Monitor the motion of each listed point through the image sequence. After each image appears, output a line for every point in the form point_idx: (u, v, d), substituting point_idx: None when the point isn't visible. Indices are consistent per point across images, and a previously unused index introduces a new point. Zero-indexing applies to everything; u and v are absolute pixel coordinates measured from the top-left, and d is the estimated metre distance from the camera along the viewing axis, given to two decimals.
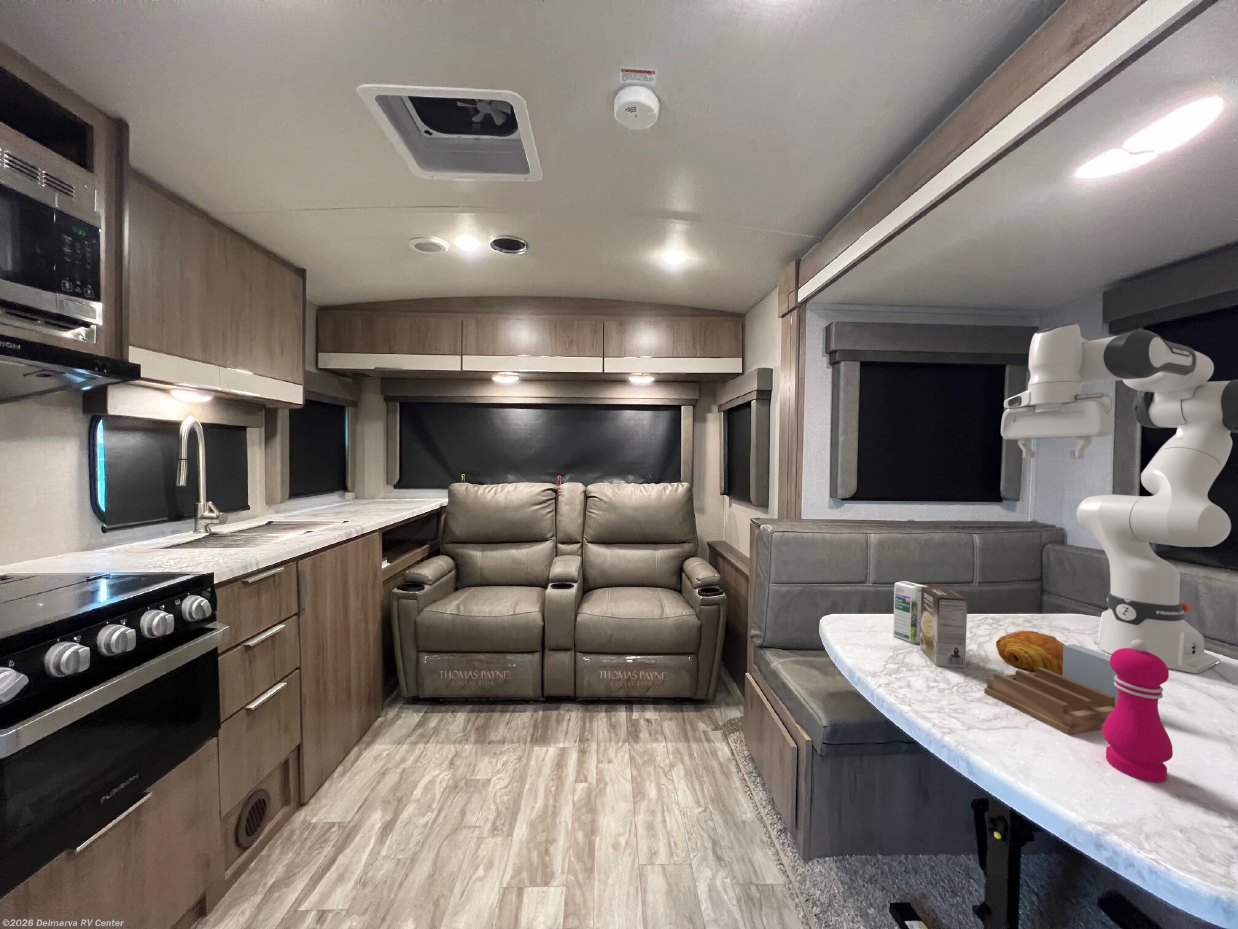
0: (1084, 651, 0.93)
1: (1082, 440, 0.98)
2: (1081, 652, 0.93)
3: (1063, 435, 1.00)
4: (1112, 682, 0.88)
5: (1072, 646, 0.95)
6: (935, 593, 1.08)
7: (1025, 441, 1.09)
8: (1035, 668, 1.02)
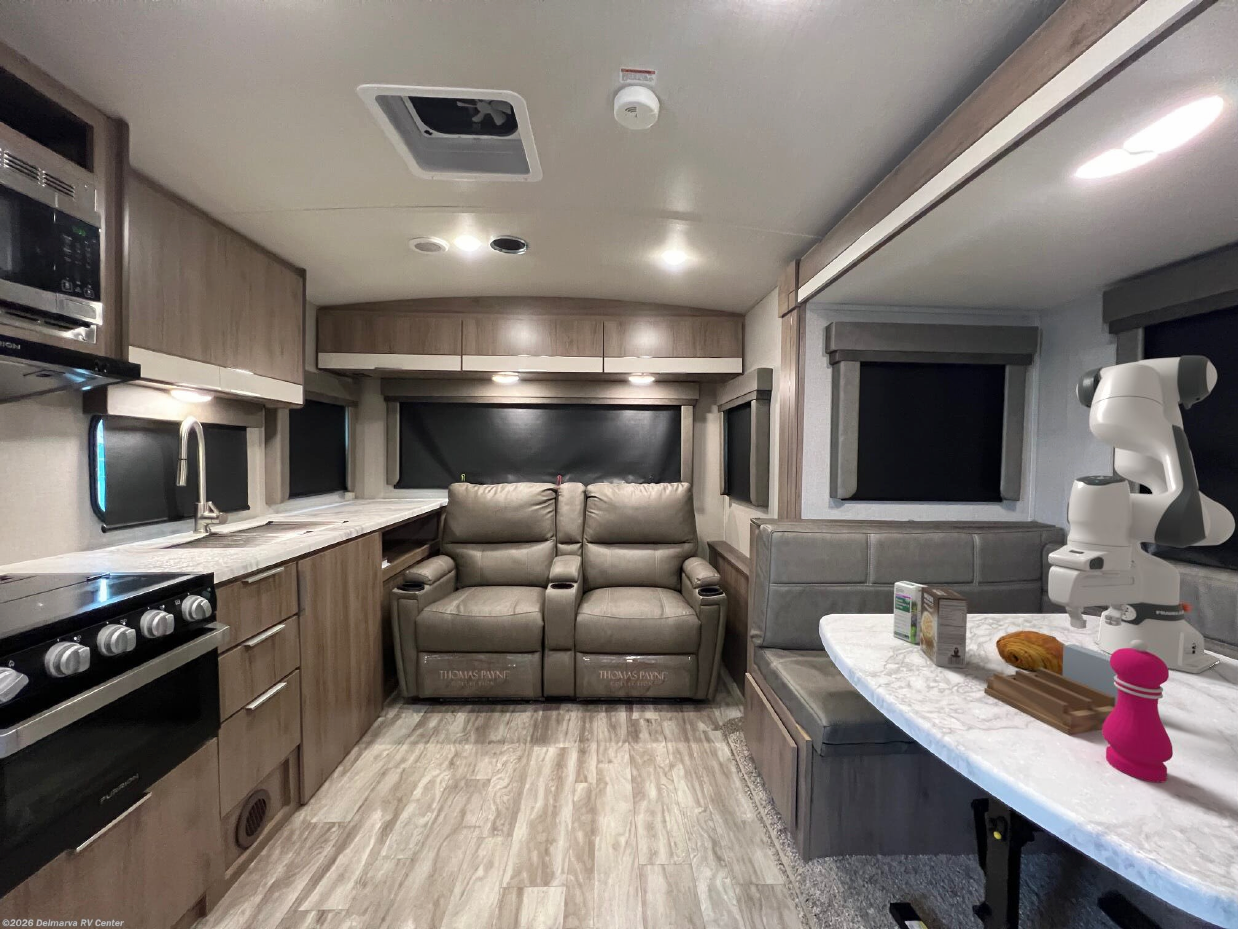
0: (1084, 651, 0.93)
1: (1125, 607, 0.92)
2: (1081, 652, 0.93)
3: (1119, 603, 0.90)
4: (1112, 682, 0.88)
5: (1072, 646, 0.95)
6: (935, 593, 1.08)
7: None
8: (1035, 668, 1.03)
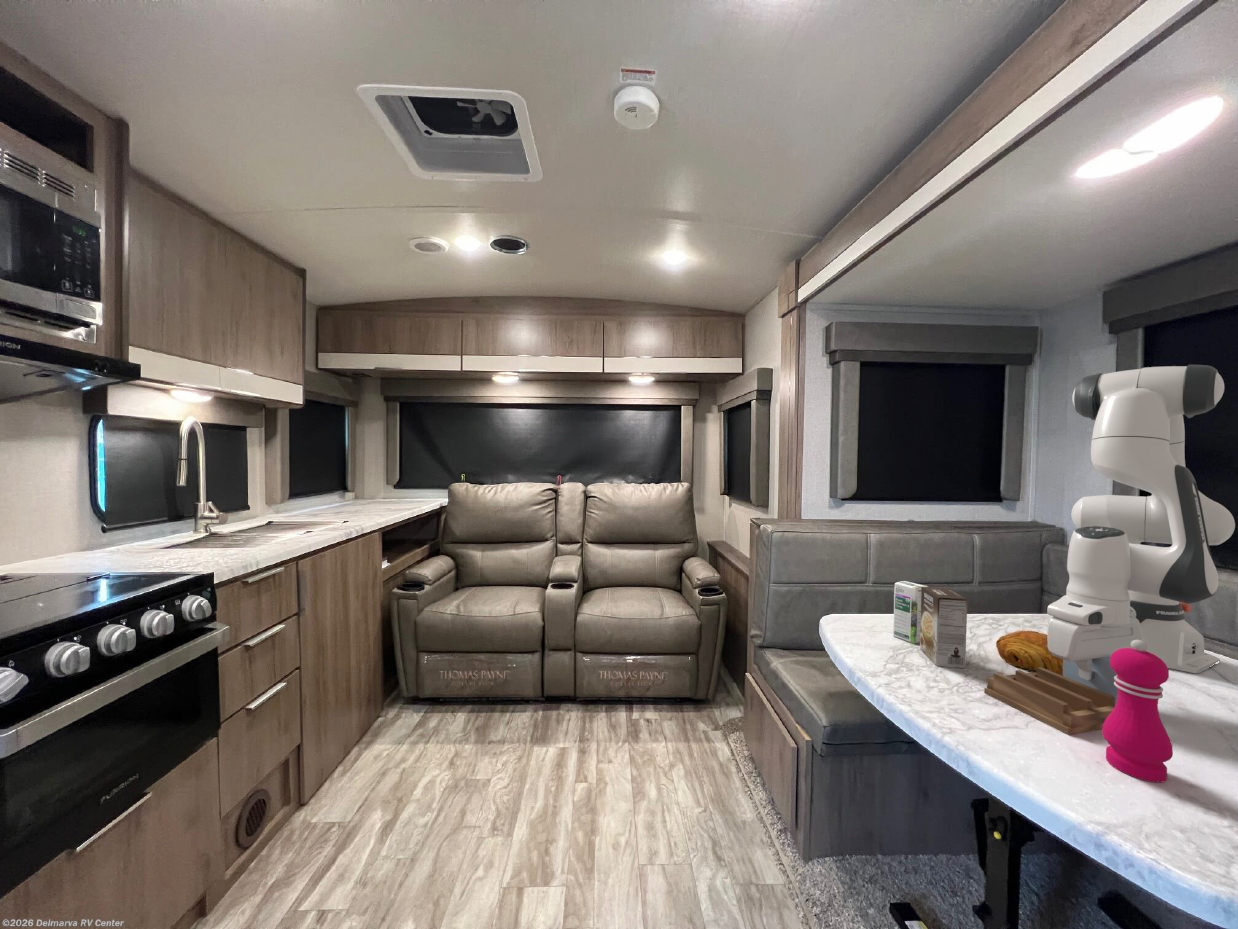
0: None
1: None
2: None
3: None
4: (1112, 682, 0.88)
5: None
6: (935, 593, 1.08)
7: None
8: (1035, 668, 1.03)
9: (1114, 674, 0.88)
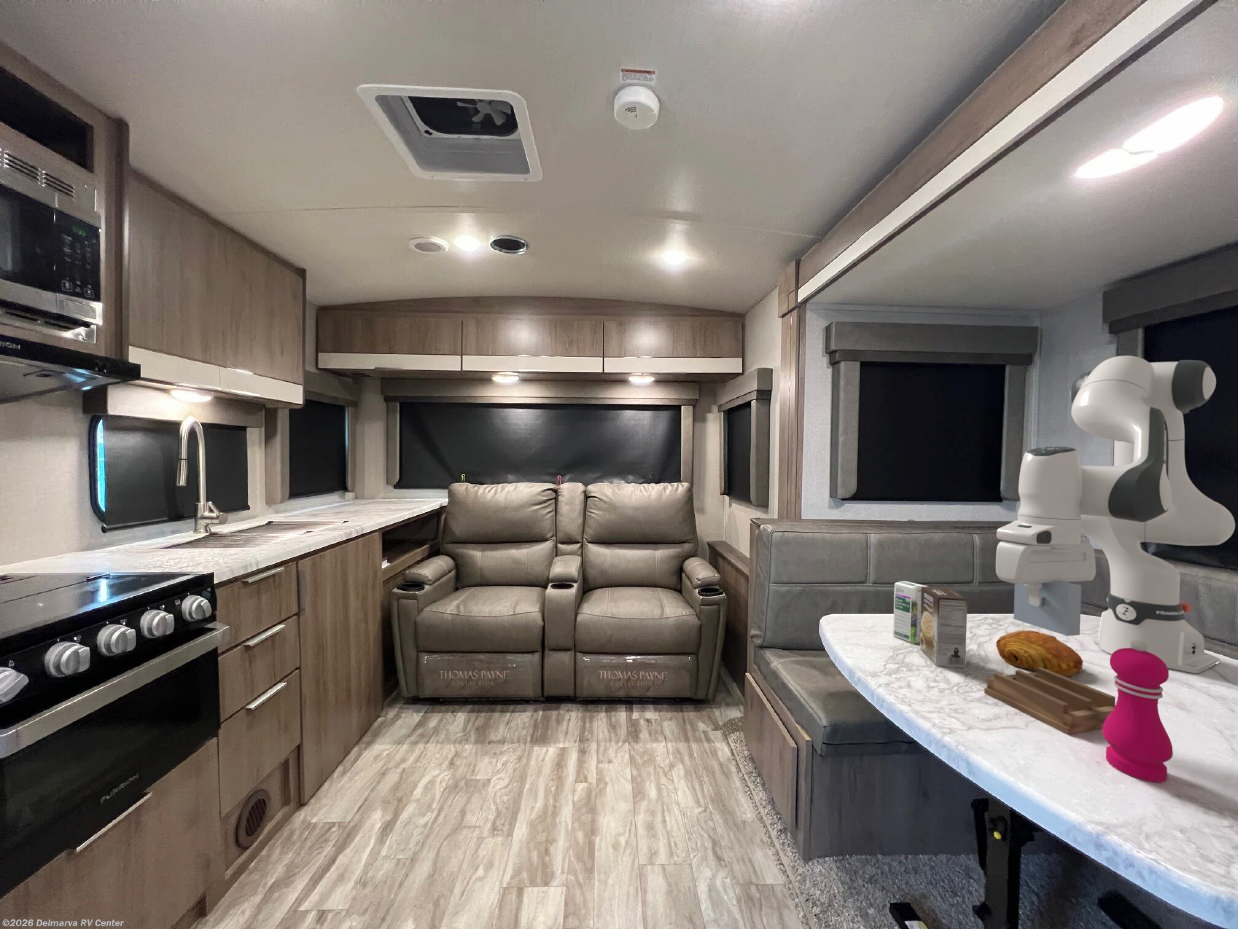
0: None
1: None
2: None
3: (1070, 580, 0.86)
4: (1062, 606, 0.83)
5: None
6: (935, 593, 1.08)
7: None
8: (1035, 668, 1.03)
9: (1064, 597, 0.83)
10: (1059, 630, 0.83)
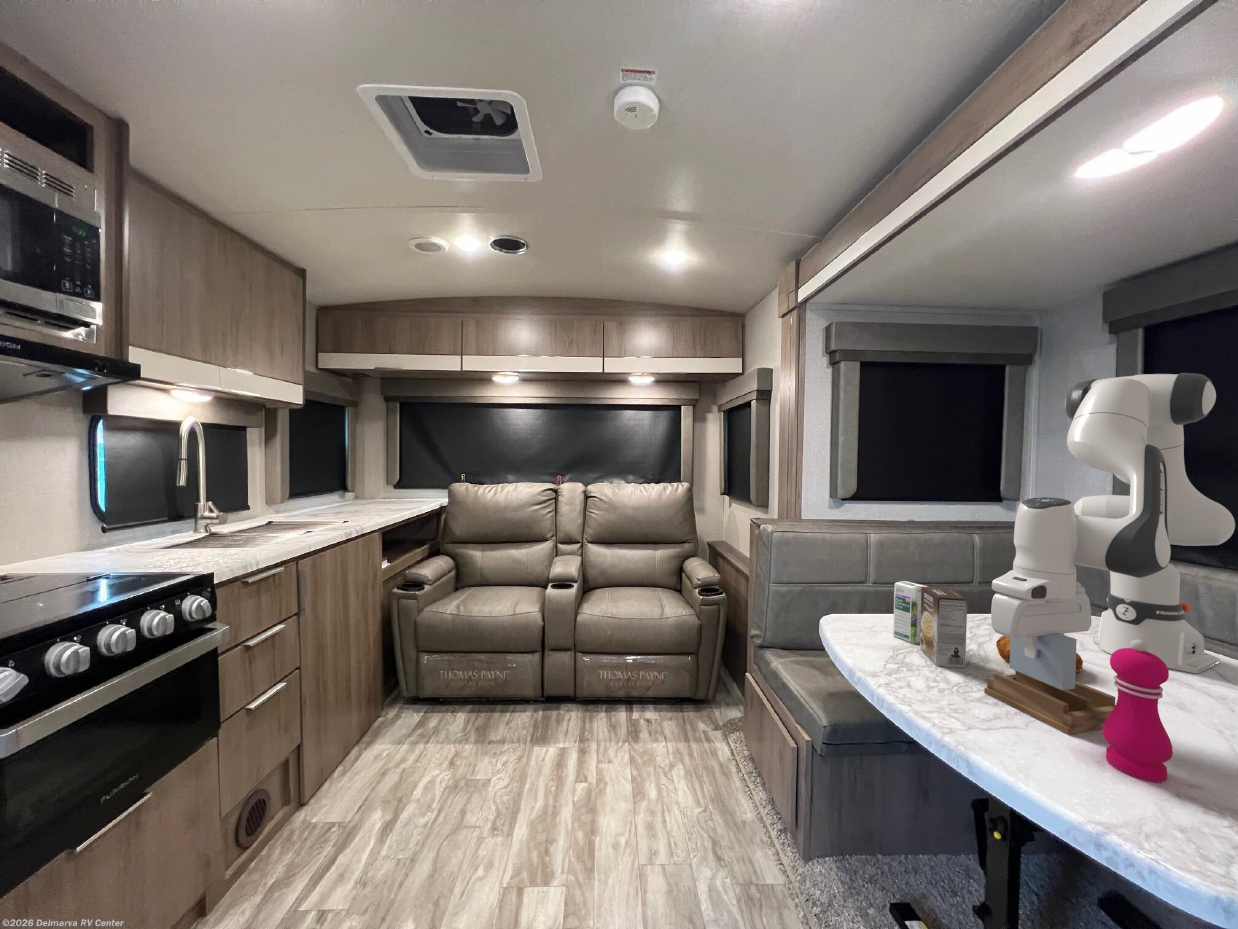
0: None
1: None
2: None
3: (1065, 632, 0.86)
4: (1057, 660, 0.83)
5: None
6: (935, 593, 1.08)
7: None
8: None
9: (1059, 651, 0.83)
10: (1054, 683, 0.83)
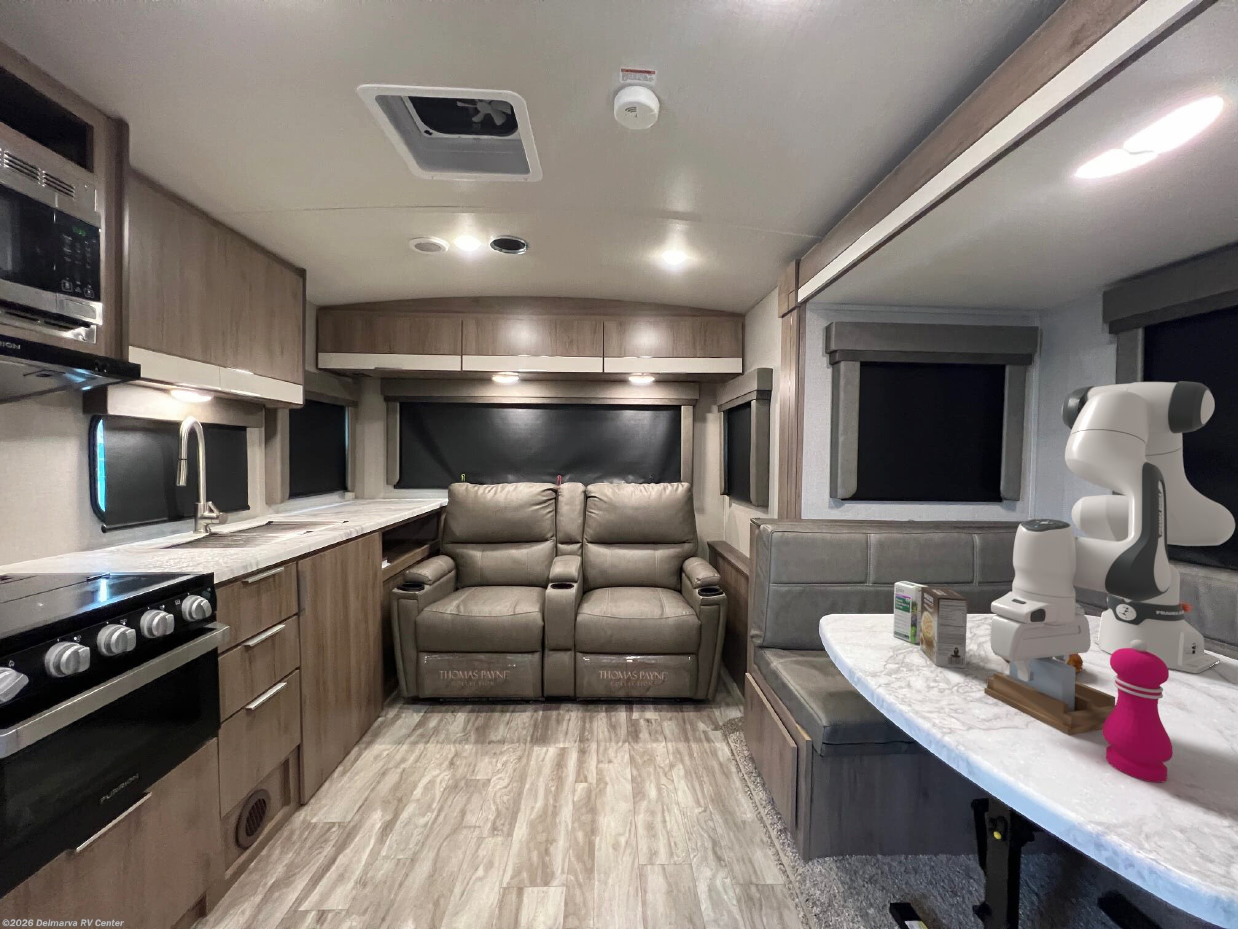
0: None
1: (1067, 657, 0.87)
2: None
3: (1064, 654, 0.86)
4: (1056, 688, 0.83)
5: None
6: (935, 593, 1.08)
7: None
8: None
9: (1058, 680, 0.83)
10: None
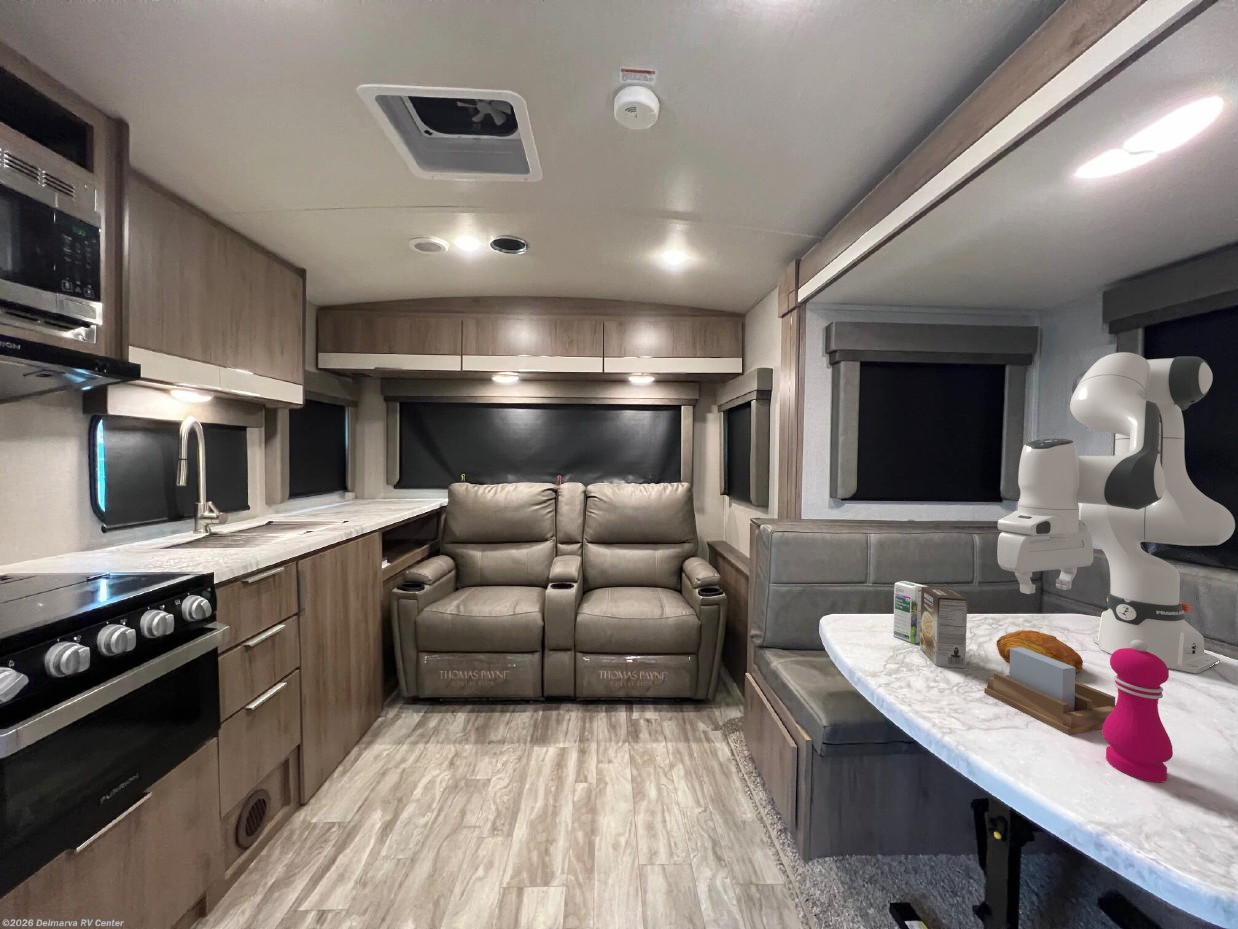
0: (1030, 655, 0.88)
1: (1075, 570, 0.91)
2: (1027, 656, 0.88)
3: (1068, 566, 0.90)
4: (1056, 688, 0.83)
5: (1019, 649, 0.90)
6: (935, 593, 1.08)
7: None
8: None
9: (1058, 680, 0.83)
10: None
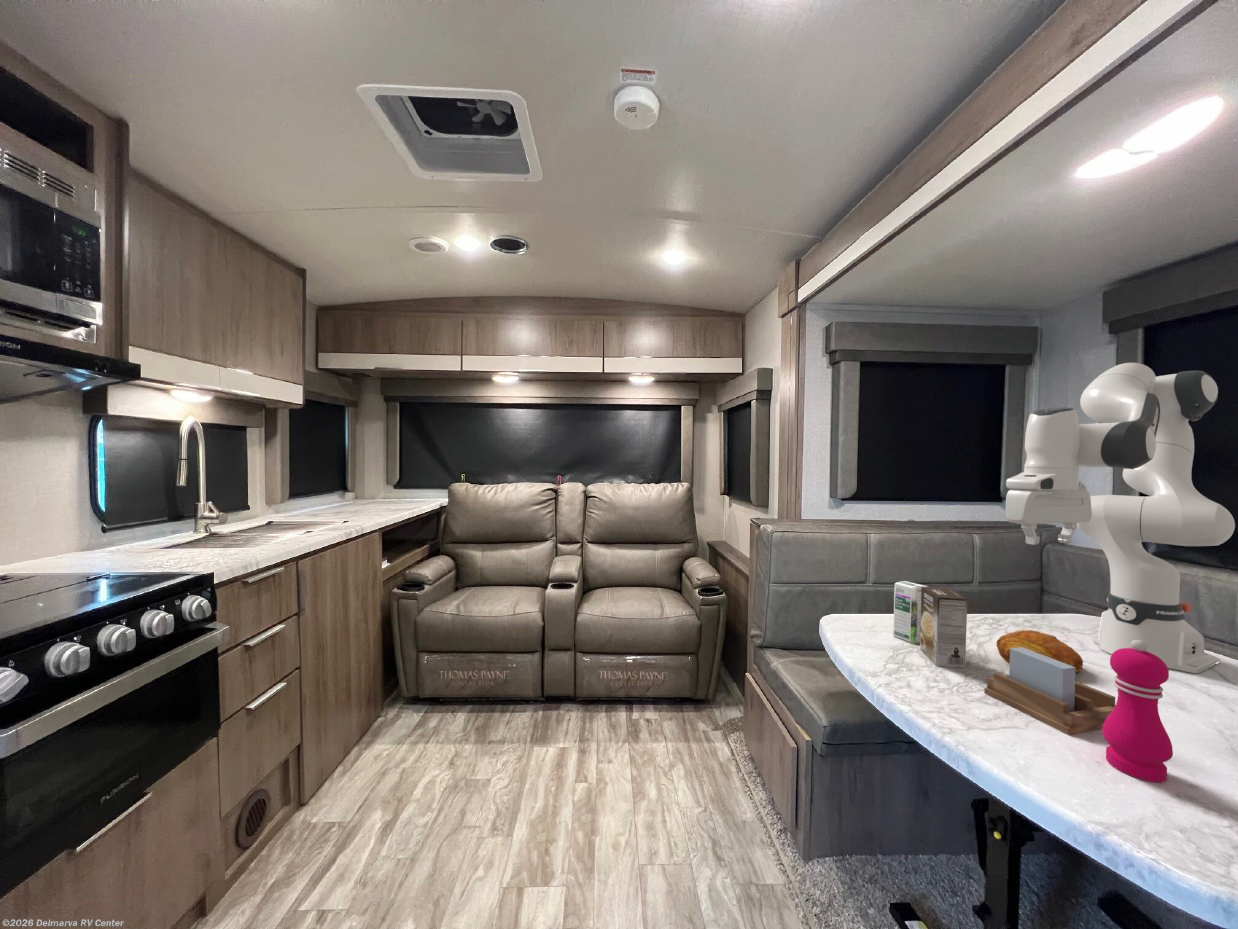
0: (1030, 655, 0.88)
1: (1075, 526, 1.02)
2: (1027, 656, 0.88)
3: (1069, 521, 1.01)
4: (1056, 688, 0.83)
5: (1019, 649, 0.90)
6: (935, 593, 1.08)
7: None
8: None
9: (1058, 680, 0.83)
10: None
